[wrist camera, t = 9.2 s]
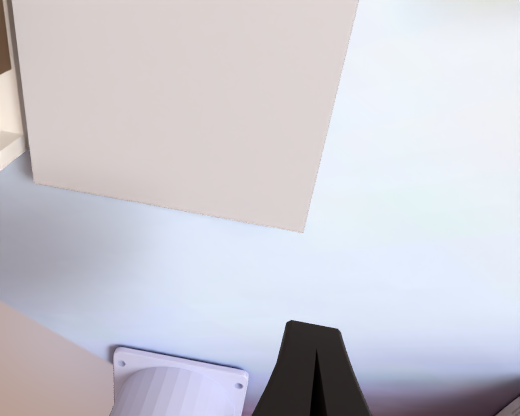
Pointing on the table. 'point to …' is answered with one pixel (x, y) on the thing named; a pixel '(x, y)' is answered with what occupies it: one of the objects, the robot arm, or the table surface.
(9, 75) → the box
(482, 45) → the table surface
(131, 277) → the table surface
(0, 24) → the brown square block
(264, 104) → the beige board
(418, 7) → the table surface
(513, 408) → the coffee box
